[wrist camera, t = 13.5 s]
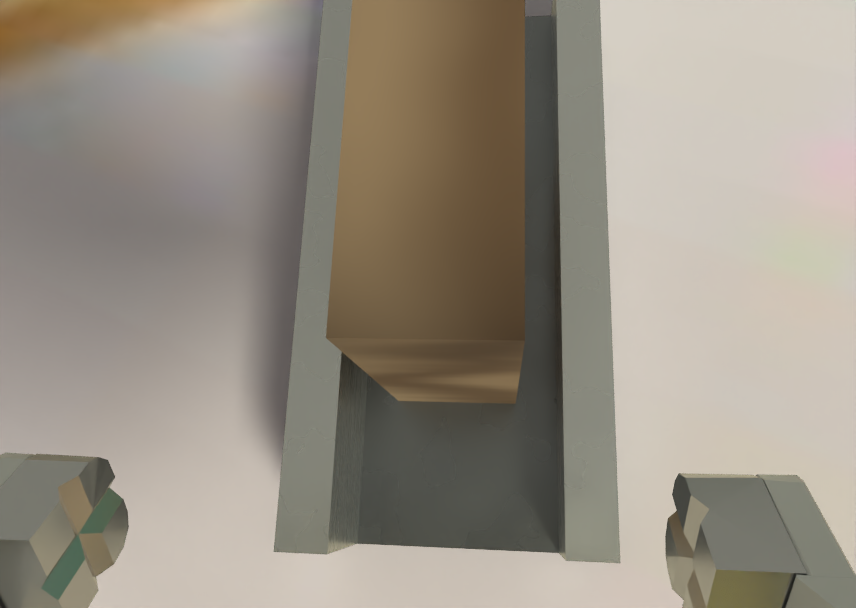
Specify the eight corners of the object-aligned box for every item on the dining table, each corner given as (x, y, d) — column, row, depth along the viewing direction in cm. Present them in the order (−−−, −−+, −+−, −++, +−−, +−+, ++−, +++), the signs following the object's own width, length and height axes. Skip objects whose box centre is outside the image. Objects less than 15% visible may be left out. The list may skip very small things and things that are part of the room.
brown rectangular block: (398, 401, 23) (326, 337, 14) (411, 139, 26) (357, -67, 16) (515, 403, 23) (525, 340, 13) (516, 137, 26) (524, -76, 16)
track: (320, 539, 23) (273, 551, 19) (357, 39, 29) (327, -52, 24) (602, 552, 22) (629, 569, 17) (586, 30, 28) (604, -67, 23)
